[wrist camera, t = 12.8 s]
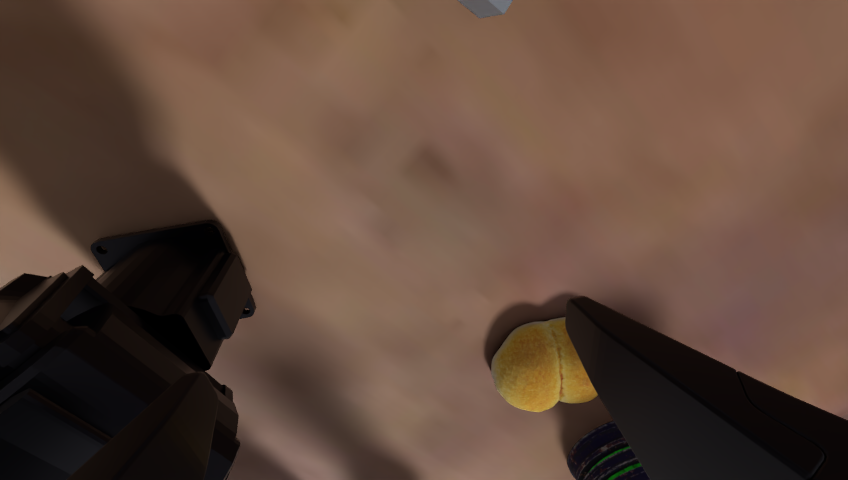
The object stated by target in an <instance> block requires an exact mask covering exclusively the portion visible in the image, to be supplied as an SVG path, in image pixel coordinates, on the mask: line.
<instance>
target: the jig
mask: <svg viewBox="0 0 848 480" xmlns="http://www.w3.org/2000/svg"><path fill="white" fill-rule="evenodd" d="M458 1H459V2H460V3H461V4H463V5H464V6H465V7H466V8H468V9H469V10H470V11H471V12H472V13H474V14H475V15H476V16H477V17H479V18H484V17H490V16H496V15H502V14H505V12H506V10H507V9H508V7H509V5H510V4H511V2H512V1H513V0H458Z"/></svg>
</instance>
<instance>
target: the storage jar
mask: <svg viewBox="0 0 848 480" xmlns="http://www.w3.org/2000/svg"><path fill="white" fill-rule="evenodd" d="M567 464H568V468H569V470H570V472H571V474H572V475H573V477H574V478H575V479H576V480H650V478H649V477H648V475H647V473H646V472H645V470H644V469H643V467H642V465H641V464H640V462H639V461H638V459H637V457H636V456H635V454H634V452H633V451H632V449H631V448H630V446H629V444H628V443H627V441H626V439H625V438H624V436H623V435H622V433H621V431H620V430H619V428H618V426H617V425H616V423H615V422H614V421H612V422H609V423H607V424H604V425H602V426H600V427H598V428H596V429H594V430H593V431H591V432H589V433H588V434H586V435H585V436H584V437H583V438H581V439H580V440H579V441H578V442H577V443H576V444H575V446H574V447H573V448H572V450H571V451H570V454H569V456H568V460H567Z"/></svg>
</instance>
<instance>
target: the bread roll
mask: <svg viewBox="0 0 848 480" xmlns="http://www.w3.org/2000/svg"><path fill="white" fill-rule="evenodd" d="M491 373H492V377H493V379H494V383H495V386H496V388H497V390H498V392H499V393H500V394H501V395H502V397H503V398H504V399H505V400H506V401H507V402H508V403H510V404H511V405H513V406H515V407H517V408H520V409H523V410H527V411H534V412H541V411H544V410H547V409H549V408H551V407H553V406H554V405H555V404H556V403H557V402H558V401H562V402H566V403H583V402H588V401H590V400H593V399H594V398H595V397H596V396H598V394H597V392H596V390H595V389H594V387H593V385H592V383H591V381H590V379H589V377H588V375H587V373H586V371H585V369H584V367H583V365H582V363H581V361H580V359H579V356H578V354H577V352H576V350H575V348H574V346H573V344H572V342H571V340H570V338H569V336H568V333H567V331H566V327H565V317H561V318H556V319H551V320H548V321H544V322H543V321H536V322H531V323H527V324H524V325H522V326H519V327H517V328H516V329H514V330H513V331H512V332H511V333H510V335H509V336H508V337H507V339H506V340H505V341H504V343H503V344H502V346H501V347H500V348H499V350H498V351H497V352H496V354H495V355H494V357H493V359H492V364H491Z"/></svg>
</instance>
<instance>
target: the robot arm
mask: <svg viewBox="0 0 848 480" xmlns="http://www.w3.org/2000/svg"><path fill="white" fill-rule="evenodd" d="M207 227H210V228H212V229H213V230H214V232H209V231H208V230H207ZM101 246H103V247H105V248H106V249H107V250H104V249H103V248H102V247H101ZM91 251H92V253H93V254H94V256H95V257H96V259H97V260H98V262H99V263H100V265H101V266H102V268H103V270H104V271H105V272H104V273H103V274H102V275H100V276H99V277H98V278H97V279H96V280H95V279H94V278H93V276H94V274H93V273H91V272H90V271H89V270H88V269H87V268H85V267H84V266H83V265H81V266H79V267H77V268H75V269H74V270H72V271H70V272H68V273H66V274H65V273H64V272H62V273H60V274H58V275H56V276H54V277H52V276H49V277H44V276H38V275H32V274H25V273H24V274H22V275H21V276H19V277H17V278H15V279H13V280H12V281H10V282H9V283H7V284H6V285H4V286H3V287H1V288H0V480H226V479H227V477H228V475H229V473H230V470H231V468H232V467H233V464H234V462H235V459H236V456H237V454H238V451H239V447H240V441H239V440H238V439H237V438H235V437H236V433H237V425H238V413H237V410H236V407H235V404H234V403H233V392H232V390H231V389H229V388H228V387H227V386H226V385H221V384H220V383H218V382H217V381H216V380H215V379H214V378H212V377H211V376H210V375H209V374H208V373H206V372H205V371H206V370H209V369H210V368H211V366H212V364H213V361H214V359H215V357H216V355H217V353H218V350H219V348H220V346H221V344H222V342H223V340H224V339H229V338H230V337H231V336H232V334H233V333H234V330H235V328H236V326H237V323H238V321H239V319H242V318H247V317H251V316H252V315H253V314H254V312H255V309H256V305H255V303H254V301H253V298H252V296H251V294H250V293H251V291H252V288H251V286H250V283H249V281H248V279H247V276H246V274H245V272H244V270H243V267H242V265H241V263H240V260H239V258H238V256H237V255H236V254H234V253H233V252H232V251H231V248H230V246H229V244H228V241H227V239H226V237H225V235H224V232H223V230H222V228H221V226H220V224H219V223H217V222H216V221H213V220H205V221H199V222H194V223H188V224H182V225H176V226H170V227H164V228H158V229H153V230H147V231H141V232H135V233H129V234H123V235H117V236H112V237H106V238H101V239H98V240H97V241H95V242H94V243H93V244H92V245H91ZM244 308H248V309H249V310H245V309H244ZM565 327H566V331H567V333H568V336H569V338H570V340H571V342H572V344H573V346H574V348H575V350H576V352H577V354H578V356H579V359H580V361H581V363H582V365H583V367H584V369H585V371H586V373H587V375H588V377H589V379H590V381H591V383H592V385H593V387H594V389H595V390H596V392H597V394H598V396H599V397H600V399H601V400H602V402H603V404H604V405H605V407H606V409H607V410H608V412H609V413H610V415H611V417H612V418H613V420H614V422H615V423H616V425H617V426H618V428H619V430H620V431H621V433H622V435H623V436H624V438H625V439H626V441H627V443H628V444H629V446H630V448H631V449H632V451H633V452H634V454H635V456H636V457H637V459H638V461H639V462H640V464H641V465H642V467H643V469H644V470H645V472H646V473H647V475H648V477H649V478H650V480H848V420H846V419H843V418H841V417H839V416H836V415H834V414H832V413H829V412H827V411H825V410H822V409H820V408H818V407H815V406H813V405H811V404H809V403H806V402H804V401H802V400H799V399H797V398H795V397H793V396H790V395H788V394H786V393H784V392H782V391H780V390H778V389H775V388H773V387H771V386H769V385H767V384H765V383H763V382H760V381H758V380H756V379H754V378H752V377H750V376H748V375H746V374H744V373H742V372H740V371H738V372H736V370H735V369H733V368H731V367H729V366H727V365H725V364H723V363H721V362H719V361H717V360H715V359H713V358H711V357H709V356H707V355H705V354H703V353H701V352H699V351H697V350H695V349H692V348H690V347H688V346H686V345H684V344H682V343H680V342H678V341H676V340H674V339H672V338H670V337H668V336H666V335H664V334H662V333H660V332H658V331H656V330H653V329H651V328H649V327H647V326H645V325H643V324H641V323H639V322H637V321H635V320H633V319H631V318H629V317H627V316H625V315H623V314H621V313H619V312H617V311H614V310H612V309H610V308H608V307H606V306H604V305H602V304H600V303H598V302H596V301H594V300H592V299H590V298H588V297H585V296H579V297H574V298H570V299H568V301H567V305H566V317H565Z"/></svg>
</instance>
